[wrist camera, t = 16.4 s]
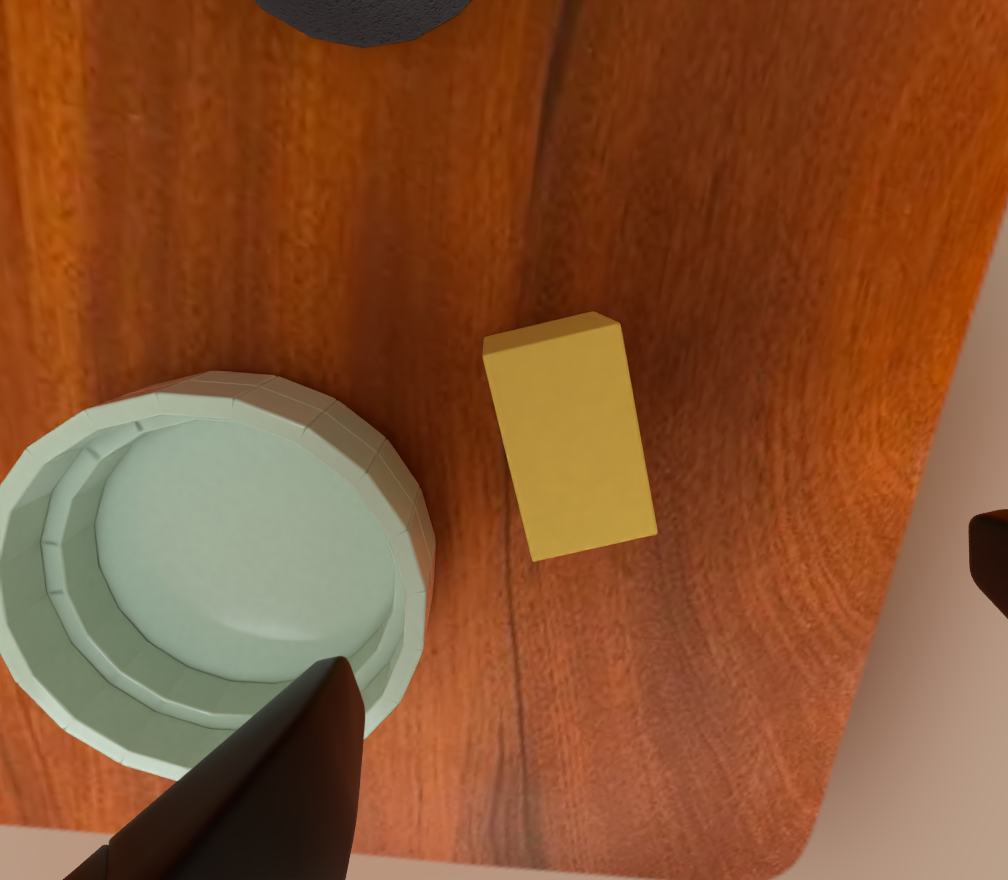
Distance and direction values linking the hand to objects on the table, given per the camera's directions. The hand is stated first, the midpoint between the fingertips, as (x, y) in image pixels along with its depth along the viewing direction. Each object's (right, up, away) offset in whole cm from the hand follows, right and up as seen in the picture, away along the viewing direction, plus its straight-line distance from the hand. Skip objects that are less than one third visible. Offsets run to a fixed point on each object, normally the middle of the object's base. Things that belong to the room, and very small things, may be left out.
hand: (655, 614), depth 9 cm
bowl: (-11, -1, +12) cm, 16 cm away
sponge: (0, +3, +11) cm, 12 cm away
